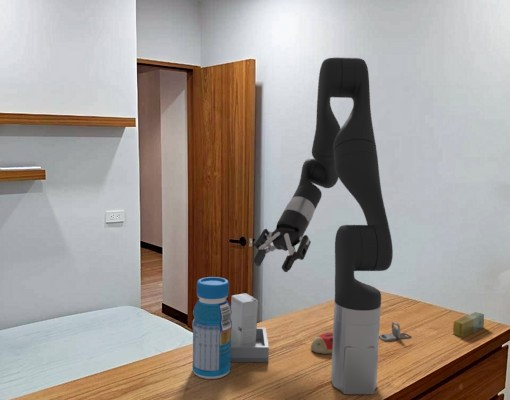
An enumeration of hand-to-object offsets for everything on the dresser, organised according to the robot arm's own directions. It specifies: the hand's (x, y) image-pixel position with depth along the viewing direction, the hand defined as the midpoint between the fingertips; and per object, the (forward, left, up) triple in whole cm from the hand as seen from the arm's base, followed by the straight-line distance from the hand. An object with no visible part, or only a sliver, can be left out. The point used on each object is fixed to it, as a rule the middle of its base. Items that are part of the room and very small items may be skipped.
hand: (270, 267), depth 123 cm
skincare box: (-8, +7, -17) cm, 20 cm away
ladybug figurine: (-6, -14, -19) cm, 25 cm away
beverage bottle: (-19, +14, -18) cm, 30 cm away
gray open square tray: (-8, +7, -18) cm, 21 cm away
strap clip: (+1, -33, -19) cm, 38 cm away
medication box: (+6, -55, -19) cm, 58 cm away
